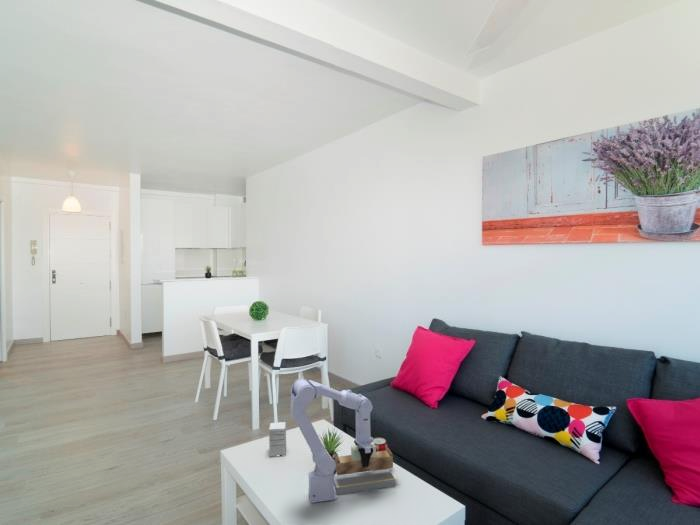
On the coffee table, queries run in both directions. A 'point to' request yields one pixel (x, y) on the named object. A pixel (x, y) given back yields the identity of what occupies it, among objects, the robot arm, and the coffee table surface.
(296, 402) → the robot arm
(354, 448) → the block
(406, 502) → the coffee table surface
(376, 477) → the dock
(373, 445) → the cream cube
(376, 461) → the brown wooden long block
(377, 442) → the soda can
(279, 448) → the supplement box
